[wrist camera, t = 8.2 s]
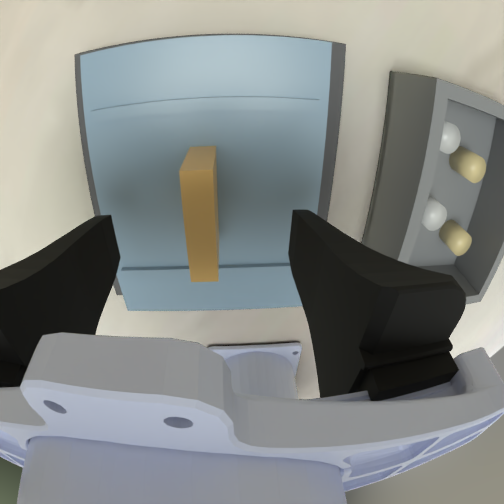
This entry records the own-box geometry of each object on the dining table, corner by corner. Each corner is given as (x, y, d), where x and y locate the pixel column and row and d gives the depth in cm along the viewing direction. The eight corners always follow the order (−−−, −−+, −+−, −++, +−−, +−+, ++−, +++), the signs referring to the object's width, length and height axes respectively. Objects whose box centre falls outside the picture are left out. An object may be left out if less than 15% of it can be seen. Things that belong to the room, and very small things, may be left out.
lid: (297, 287, 21) (314, 348, 16) (133, 292, 20) (116, 352, 16) (320, 44, 12) (363, 36, 8) (94, 55, 11) (41, 56, 7)
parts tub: (453, 267, 22) (480, 301, 18) (353, 273, 21) (376, 317, 17) (498, 108, 14) (542, 126, 10) (390, 71, 13) (436, 78, 10)
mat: (312, 286, 22) (314, 290, 21) (118, 290, 20) (116, 295, 20) (342, 44, 13) (345, 44, 12) (78, 54, 12) (74, 54, 11)
